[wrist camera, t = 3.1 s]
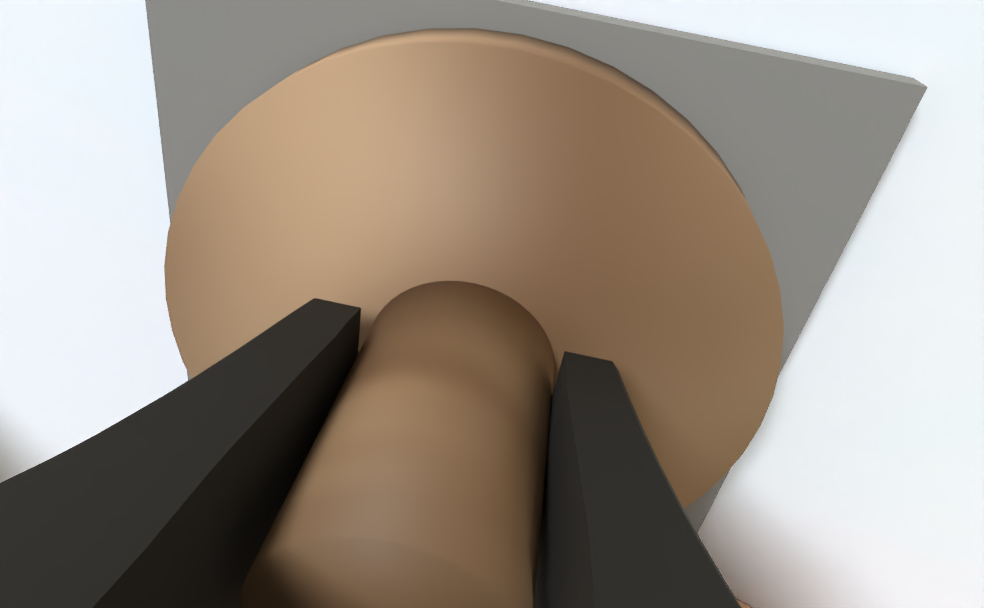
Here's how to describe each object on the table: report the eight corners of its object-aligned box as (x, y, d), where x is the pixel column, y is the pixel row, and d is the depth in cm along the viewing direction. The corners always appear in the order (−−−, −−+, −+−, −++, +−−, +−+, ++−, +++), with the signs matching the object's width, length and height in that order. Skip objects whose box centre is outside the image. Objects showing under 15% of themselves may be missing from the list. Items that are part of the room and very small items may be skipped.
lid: (212, 464, 12) (26, 747, 8) (166, -39, 8) (-298, 51, 4) (662, 563, 12) (694, 902, 8) (887, 109, 8) (1215, 372, 4)
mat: (208, 457, 13) (198, 472, 13) (157, -75, 8) (136, -73, 8) (671, 558, 13) (674, 577, 12) (912, 78, 8) (927, 86, 7)
